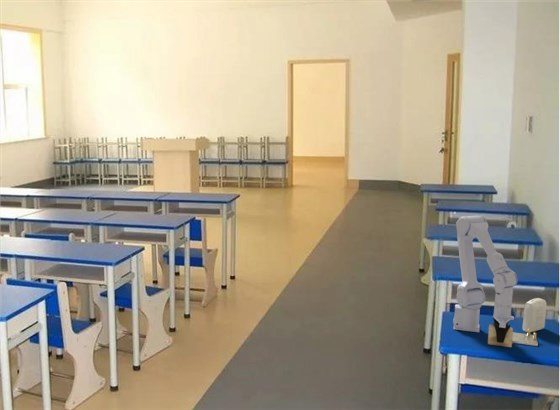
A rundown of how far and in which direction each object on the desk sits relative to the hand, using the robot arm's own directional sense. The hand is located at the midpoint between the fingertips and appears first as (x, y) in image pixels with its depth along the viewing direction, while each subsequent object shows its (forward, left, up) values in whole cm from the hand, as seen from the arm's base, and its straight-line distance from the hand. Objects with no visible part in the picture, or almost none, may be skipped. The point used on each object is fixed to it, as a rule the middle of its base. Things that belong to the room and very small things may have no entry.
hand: (499, 339), depth 214 cm
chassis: (+7, +7, -1) cm, 10 cm away
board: (0, 0, -1) cm, 1 cm away
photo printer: (+13, +20, -2) cm, 24 cm away
